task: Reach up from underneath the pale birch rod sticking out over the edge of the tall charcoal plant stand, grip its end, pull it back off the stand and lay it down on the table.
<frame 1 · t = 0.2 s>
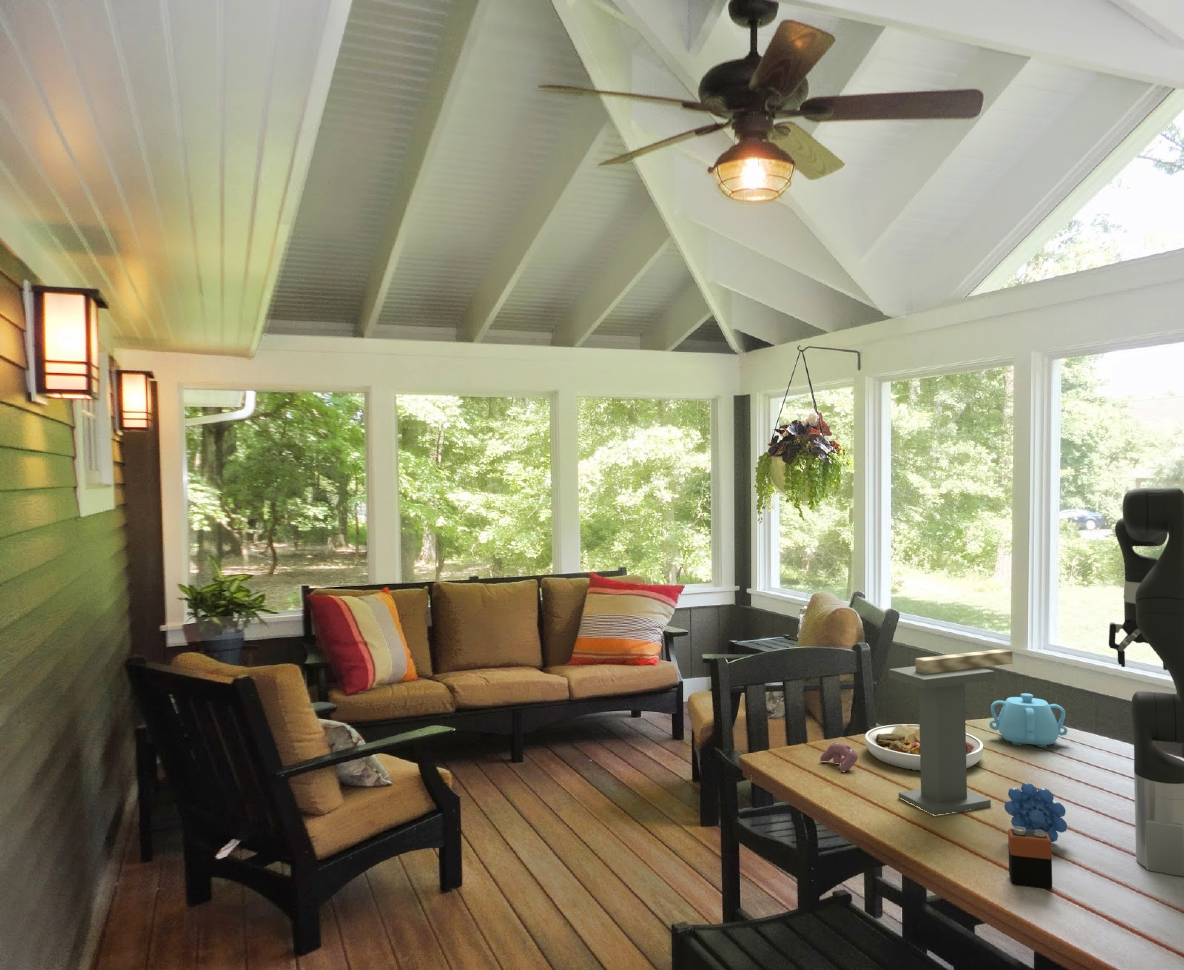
hand: (1144, 668, 205), 29 cm above the table, tool pointing down, fingers open, 8 cm apart
battery: (1030, 883, 160), on the table
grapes: (1036, 843, 177), on the table
decorative pot: (1028, 742, 245), on the table
video game controller: (839, 767, 227), on the table
plant stand: (944, 802, 200), on the table
bowl: (923, 758, 233), on the table
birch rod: (964, 667, 202), point 31 cm above the table, touching plant stand
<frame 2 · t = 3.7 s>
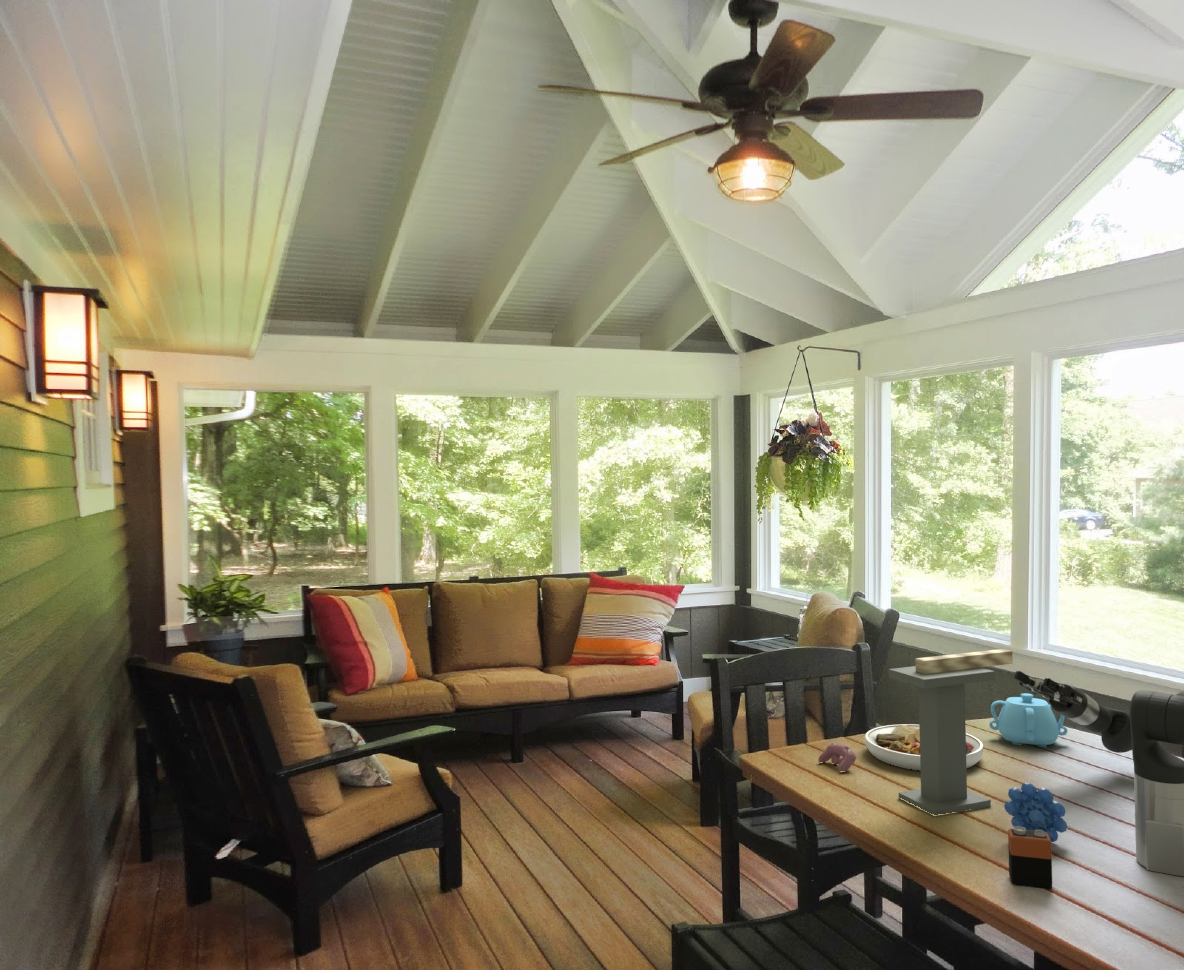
hand: (1030, 677, 209), 27 cm above the table, tool pointing upward, fingers open, 8 cm apart
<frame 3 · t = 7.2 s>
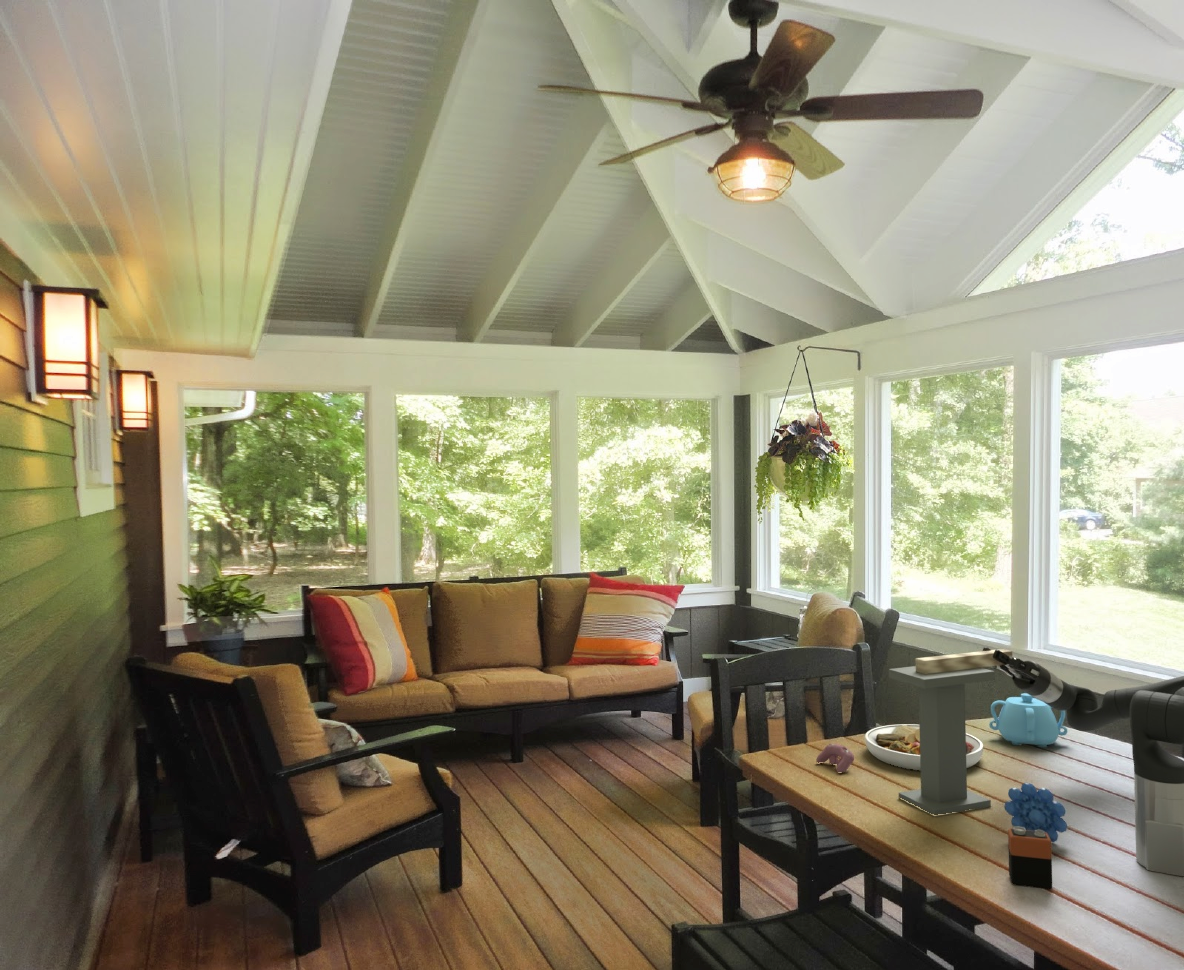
hand: (989, 652, 205), 34 cm above the table, tool pointing upward, fingers closed on birch rod, 3 cm apart
birch rod: (964, 667, 202), point 31 cm above the table, touching gripper, plant stand
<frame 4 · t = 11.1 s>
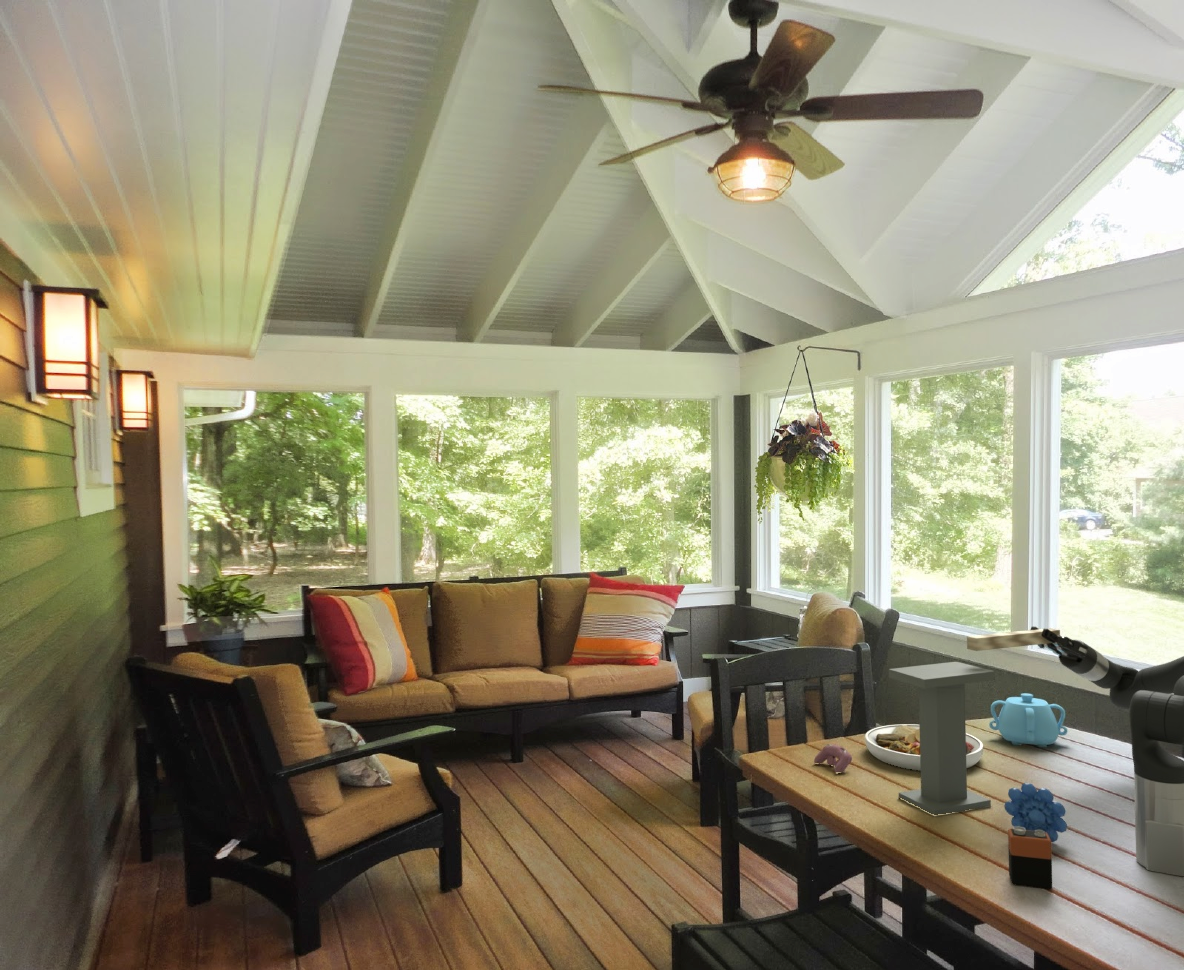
hand: (1037, 630, 210), 38 cm above the table, tool pointing upward, fingers closed on birch rod, 3 cm apart
birch rod: (1014, 645, 208), point 35 cm above the table, touching gripper
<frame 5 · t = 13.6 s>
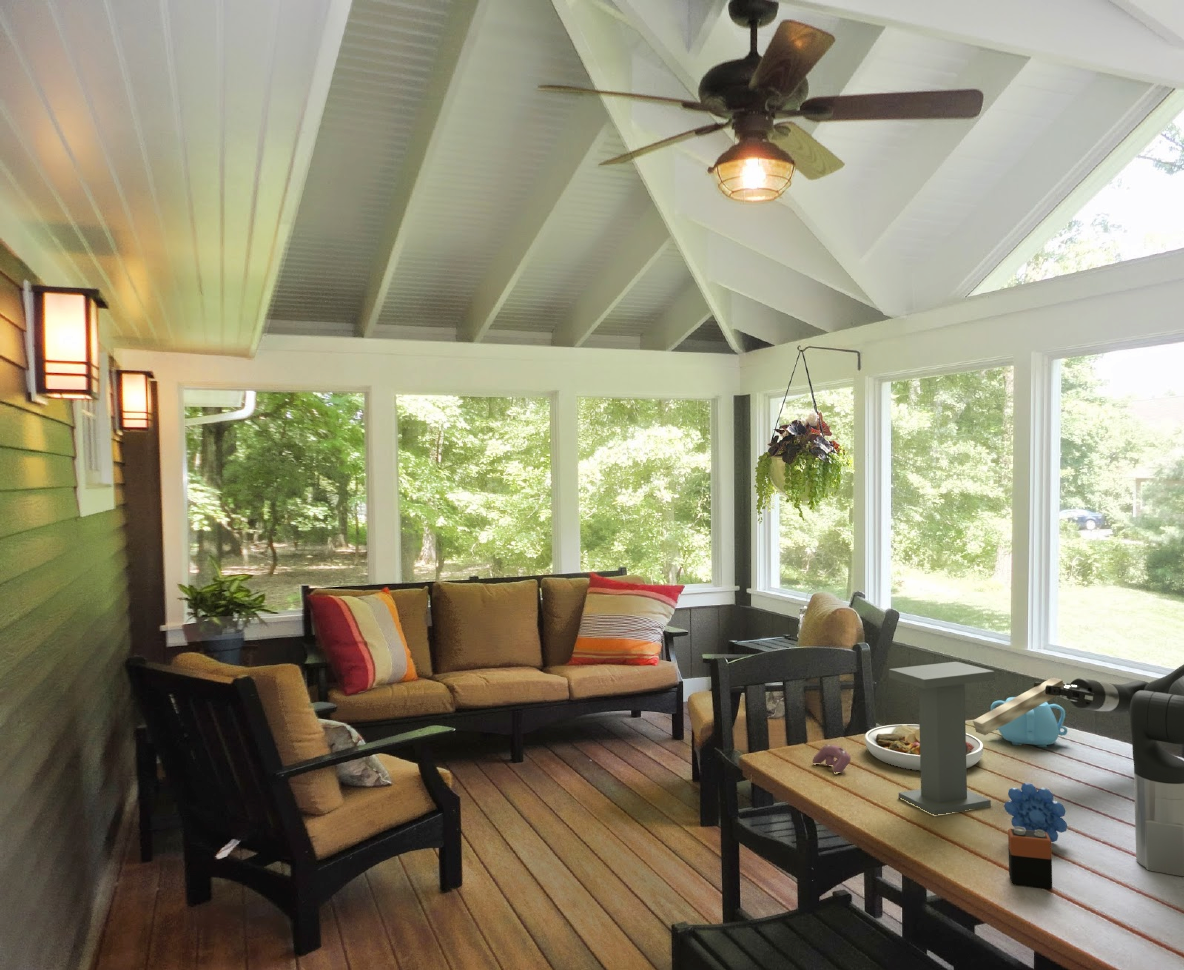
hand: (1040, 687, 211), 23 cm above the table, tool horizontal, fingers closed on birch rod, 3 cm apart
birch rod: (1021, 711, 210), point 18 cm above the table, tilted 19°, touching gripper
when the fingers open (14 cm above the table, at t = 15.3 s): birch rod drops 8 cm, on the table.
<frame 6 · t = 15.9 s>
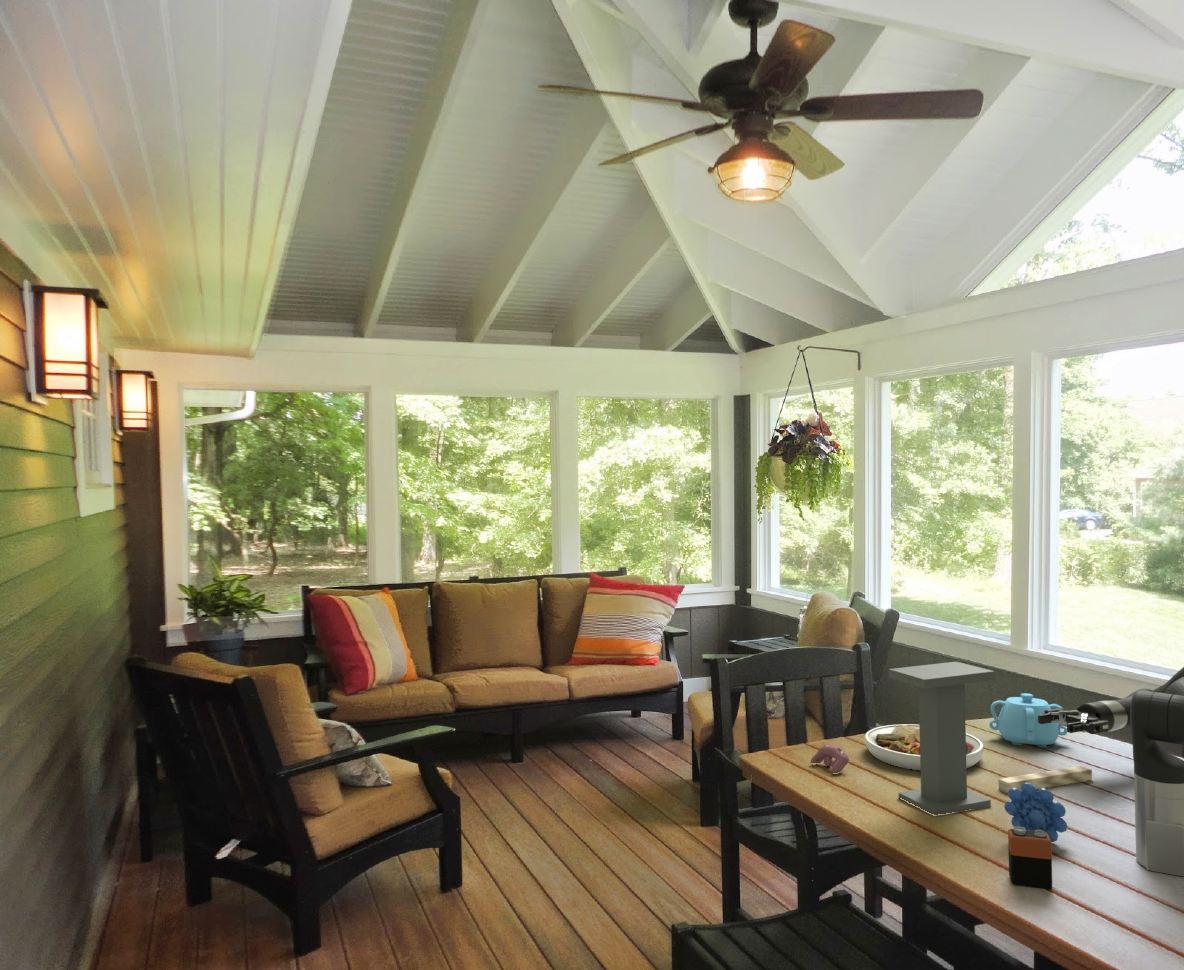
hand: (1053, 723, 211), 15 cm above the table, tool horizontal, fingers open, 8 cm apart
birch rod: (1046, 786, 210), on the table
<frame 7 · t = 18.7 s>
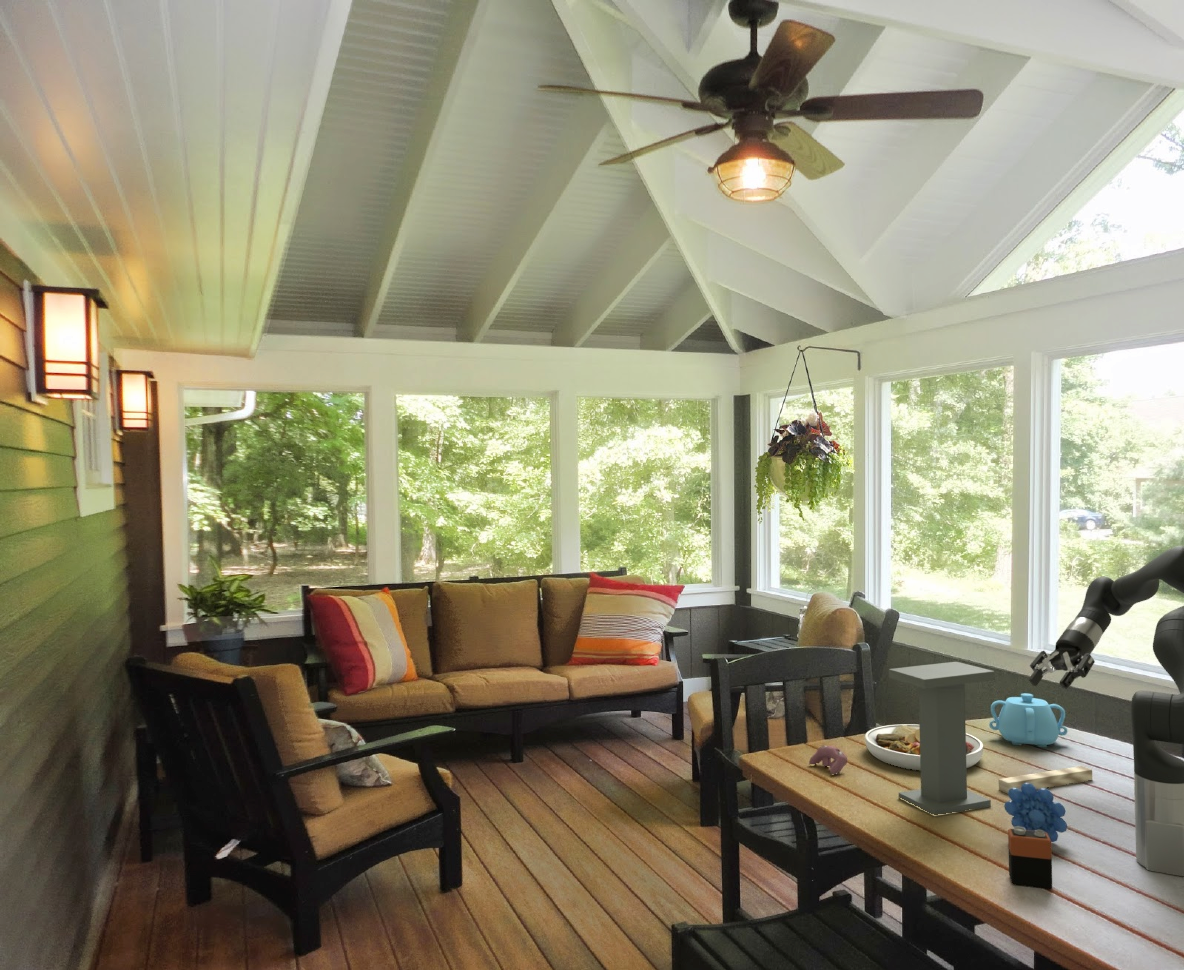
hand: (1047, 684, 208), 25 cm above the table, tool tilted 55°, fingers open, 8 cm apart
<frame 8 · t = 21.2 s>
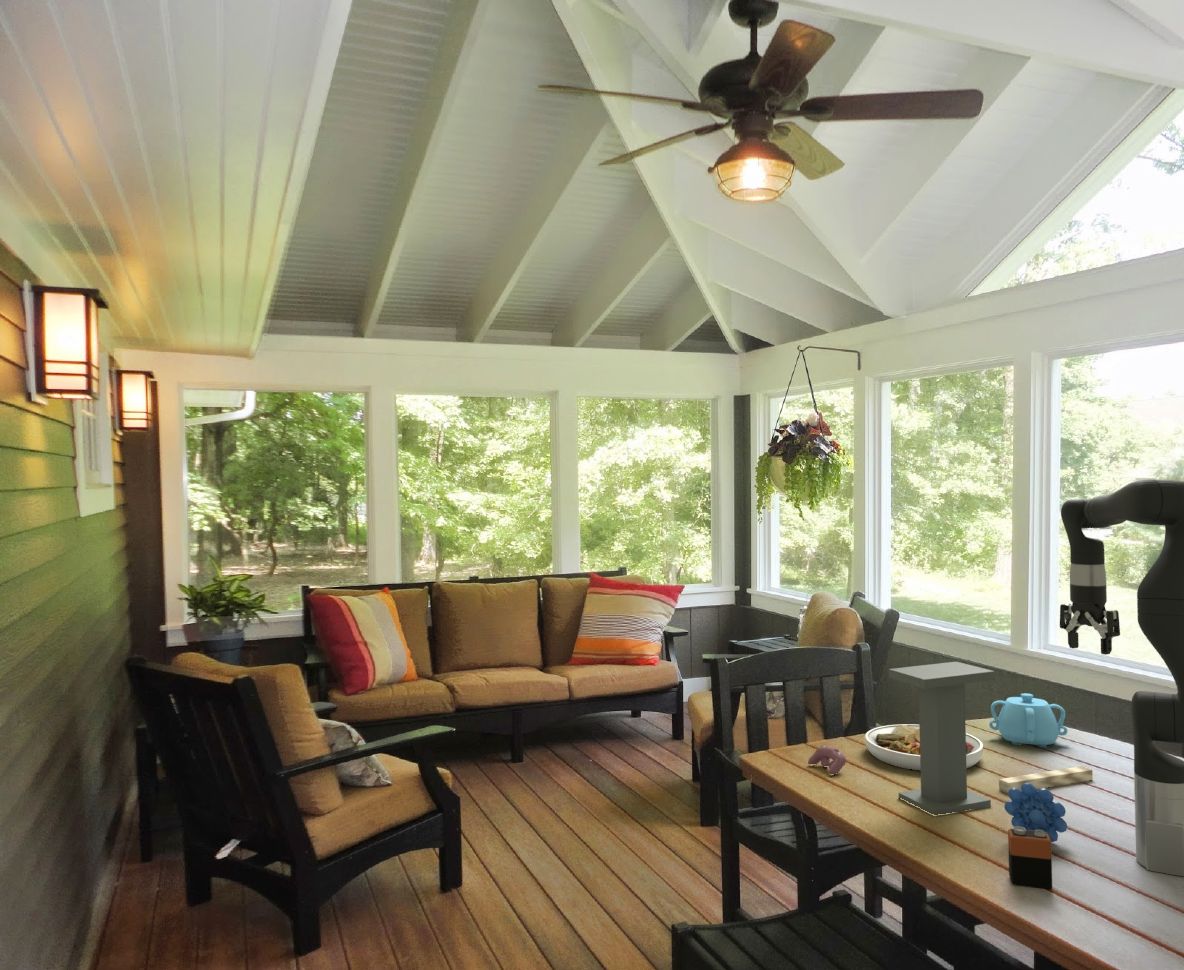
hand: (1089, 650, 203), 34 cm above the table, tool pointing down, fingers open, 8 cm apart
at the end: birch rod inside the target area (2.6 cm from its centre), on the table; the gripper is holding nothing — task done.
